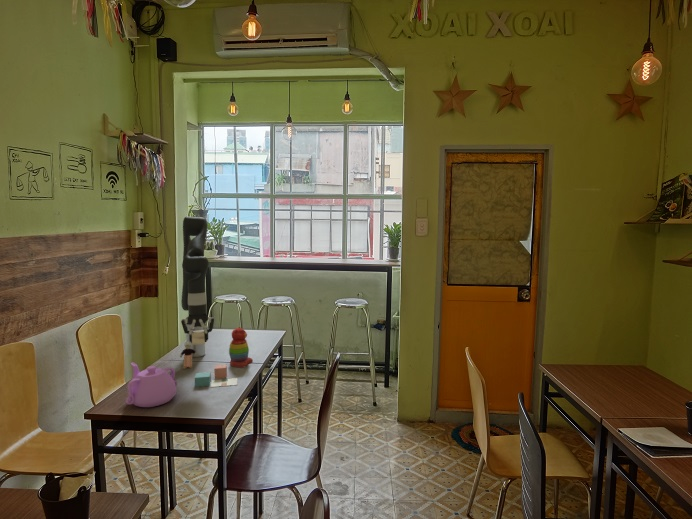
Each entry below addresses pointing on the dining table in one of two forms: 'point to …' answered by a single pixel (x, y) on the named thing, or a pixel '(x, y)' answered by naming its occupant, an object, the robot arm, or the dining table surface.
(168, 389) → the teapot
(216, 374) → the red block
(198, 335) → the maple block
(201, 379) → the teal base brick
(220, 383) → the page
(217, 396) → the dining table surface
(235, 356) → the stacking bear
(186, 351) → the grandmother figurine
